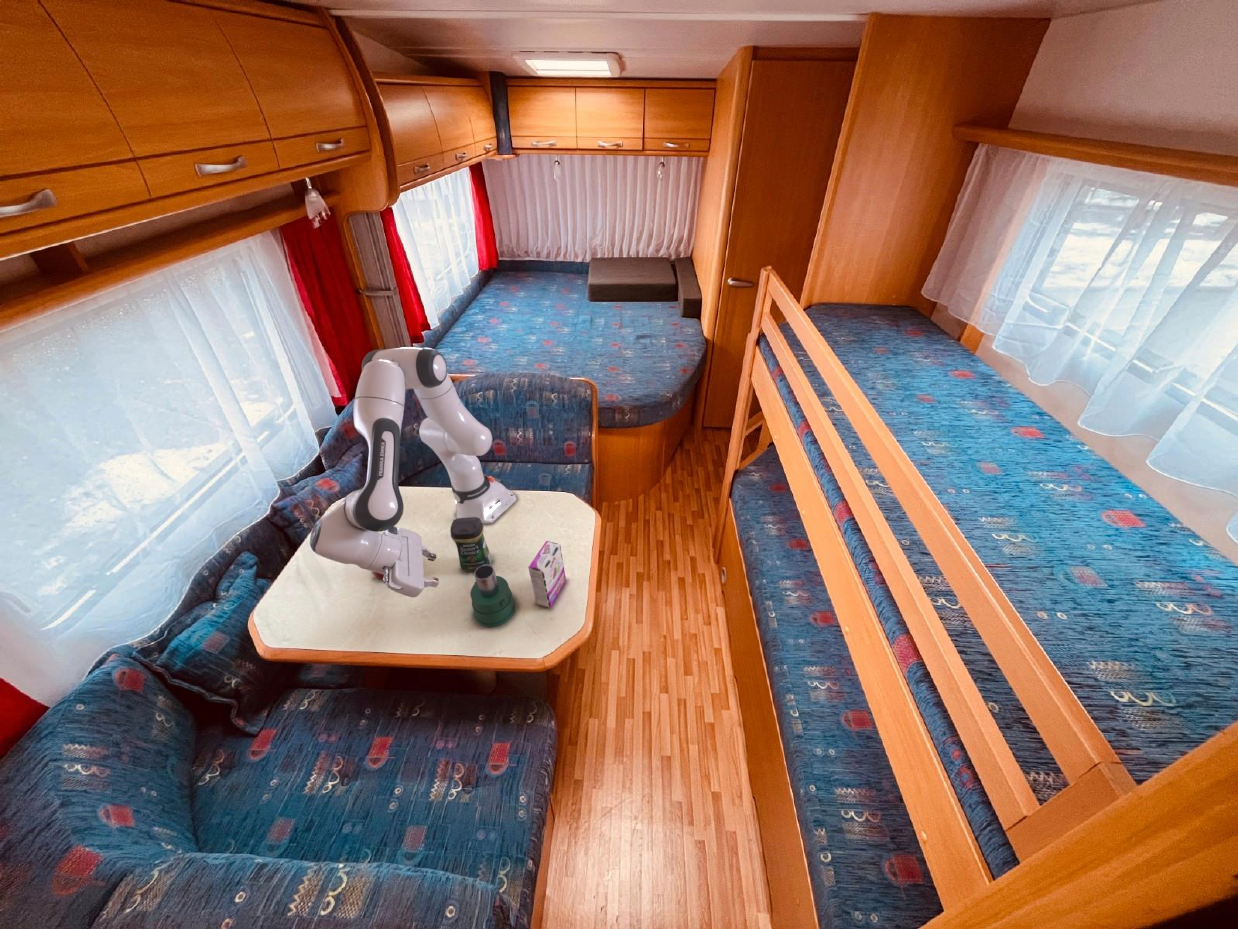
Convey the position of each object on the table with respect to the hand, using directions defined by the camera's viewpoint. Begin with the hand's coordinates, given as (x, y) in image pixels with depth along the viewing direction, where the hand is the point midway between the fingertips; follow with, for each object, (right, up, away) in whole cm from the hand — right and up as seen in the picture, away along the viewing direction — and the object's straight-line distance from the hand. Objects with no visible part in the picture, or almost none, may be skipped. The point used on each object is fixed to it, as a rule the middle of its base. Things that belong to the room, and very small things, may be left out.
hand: (436, 570), depth 122 cm
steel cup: (+11, -8, +11) cm, 17 cm away
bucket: (+11, -15, +16) cm, 25 cm away
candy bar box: (+27, -12, +21) cm, 36 cm away
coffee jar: (+1, -5, +31) cm, 31 cm away
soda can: (-28, -7, +29) cm, 41 cm away
